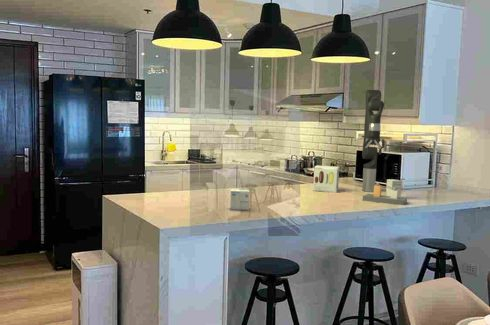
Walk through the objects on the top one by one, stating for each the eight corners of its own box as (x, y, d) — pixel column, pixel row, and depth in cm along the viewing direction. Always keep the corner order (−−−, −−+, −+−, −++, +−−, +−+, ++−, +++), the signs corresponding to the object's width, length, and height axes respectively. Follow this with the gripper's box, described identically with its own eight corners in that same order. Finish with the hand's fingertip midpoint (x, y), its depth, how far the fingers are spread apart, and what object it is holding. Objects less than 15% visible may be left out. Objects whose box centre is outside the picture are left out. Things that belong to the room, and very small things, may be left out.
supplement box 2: (385, 197, 335) (386, 179, 334) (394, 197, 337) (396, 179, 336) (391, 199, 328) (392, 180, 327) (400, 198, 330) (401, 180, 329)
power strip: (367, 198, 328) (368, 183, 327) (407, 202, 315) (408, 187, 314) (362, 200, 318) (363, 185, 317) (403, 205, 305) (404, 189, 304)
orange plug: (374, 199, 322) (375, 182, 321) (380, 200, 320) (381, 182, 319) (373, 200, 318) (374, 182, 317) (379, 201, 316) (380, 183, 315)
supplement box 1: (312, 191, 353) (313, 166, 351) (315, 188, 366) (316, 165, 364) (336, 193, 348) (337, 168, 346) (338, 190, 361) (339, 166, 359)
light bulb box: (248, 207, 278) (249, 189, 277) (249, 210, 271) (249, 191, 270) (230, 207, 278) (230, 188, 277) (230, 209, 271) (230, 190, 270)
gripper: (386, 130, 327) (385, 154, 328) (365, 129, 334) (364, 153, 335) (383, 130, 320) (382, 154, 322) (362, 129, 327) (361, 153, 329)
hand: (373, 153), depth 328 cm, fingers open, 8 cm apart
